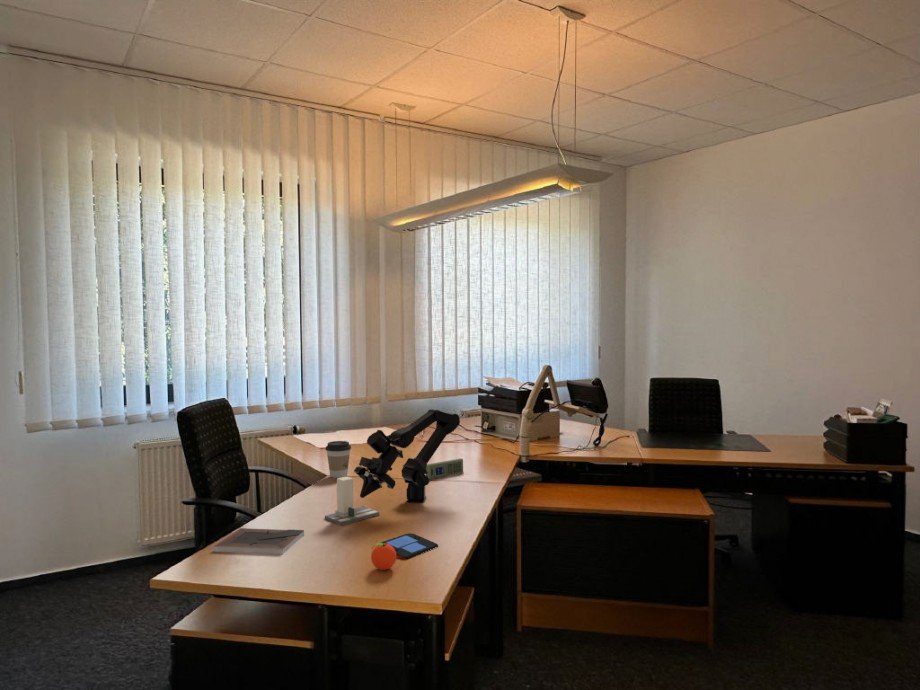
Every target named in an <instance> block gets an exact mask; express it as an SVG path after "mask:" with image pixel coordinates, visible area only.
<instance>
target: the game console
mask: <svg viewBox="0 0 920 690" xmlns="http://www.w3.org/2000/svg"><path fill="white" fill-rule="evenodd" d="M380 543H385V544H389V545H391V546H392V547H393V548H394V549H395V552H396V558H398V559H400V558H401V560H405V559H406V560H409V559H411V557H412V558H414V557H417V556H420V555H421V553H422V554H424V553H426V552H425V551H427V552H429V551H431V550H430V549H432V550H434V549H433V548H435V547H437V548H439V544H438V543H437V542H434V541H431V540H429V539H427V538H425V537H423V536H419V535H418V534H415V533H412V532H411V533H410V532H409V533H404V534H402V535H399V536H396V537H393V538H390V539H387V540H385V541H382V542H380ZM435 549H436V548H435ZM428 550H429V551H428ZM423 552H424V553H423ZM416 555H417V556H416Z"/></svg>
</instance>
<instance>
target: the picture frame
mask: <svg viewBox="0 0 920 690" xmlns="http://www.w3.org/2000/svg"><path fill="white" fill-rule="evenodd" d="M304 536H305V530H304V529H271V528H270V529H268V528H266V529H265V528H246V527H245V528H243V527H240V528H238V529H237V530H235V531H234V532H233V533H231V534H229V535H228V536H226V537H225V538H224V539H222V540H221V541H220V542H218V543H217V544H214V546H213V552H215V553H216V552H218V553H240V554H242V553H243V554H244V553H245V554H261V555H263V554H267V555H268V554H269V555H284V554H285V553H286V552H287V551H289V550H290V549H291V547H293V546H294V545H295V544H296V543H297V542H299V540H301V539H302V538H303V537H304Z"/></svg>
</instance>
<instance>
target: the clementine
mask: <svg viewBox="0 0 920 690" xmlns="http://www.w3.org/2000/svg"><path fill="white" fill-rule="evenodd" d="M371 549H372V552H371V555H370V559H371V561H370V562H371V564H372V565H373V567H374V568H377V570H381V571H385V570H389V569H390V568H392V567H393V566H394V565H395V563H396V560H397V557H396V552H395V549H394V548H393V547H392V546H391V545H389V544H385V543H381V542H378V543H376V544H374V545H372V547H371Z"/></svg>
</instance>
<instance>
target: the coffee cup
mask: <svg viewBox="0 0 920 690" xmlns="http://www.w3.org/2000/svg"><path fill="white" fill-rule="evenodd" d="M324 449H325V451H326V456H327V462H328V463H327V464H328V468H329V469H328V470H329V475H330V478H331V477H333V478H332V479H335V478H342V477H346V476H347V477H348V474H349V464H350V463H349V461H350V454H351V449H352V445H351V444H350V443H349V441H347V440H335V441H330V442H328V443H327V445H326V446H325V448H324Z"/></svg>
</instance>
